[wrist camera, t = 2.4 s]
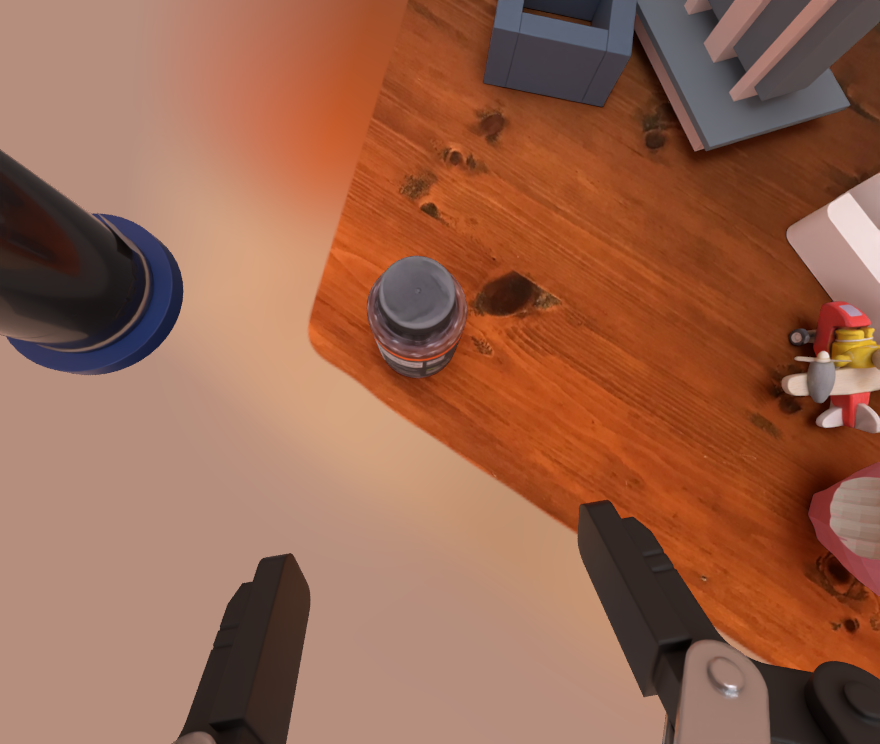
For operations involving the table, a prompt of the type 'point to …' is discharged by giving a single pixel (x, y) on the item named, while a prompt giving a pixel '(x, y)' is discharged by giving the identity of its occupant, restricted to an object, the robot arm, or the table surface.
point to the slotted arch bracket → (845, 248)
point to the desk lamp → (750, 61)
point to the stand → (561, 48)
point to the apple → (852, 523)
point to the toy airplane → (840, 367)
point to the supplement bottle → (417, 316)
